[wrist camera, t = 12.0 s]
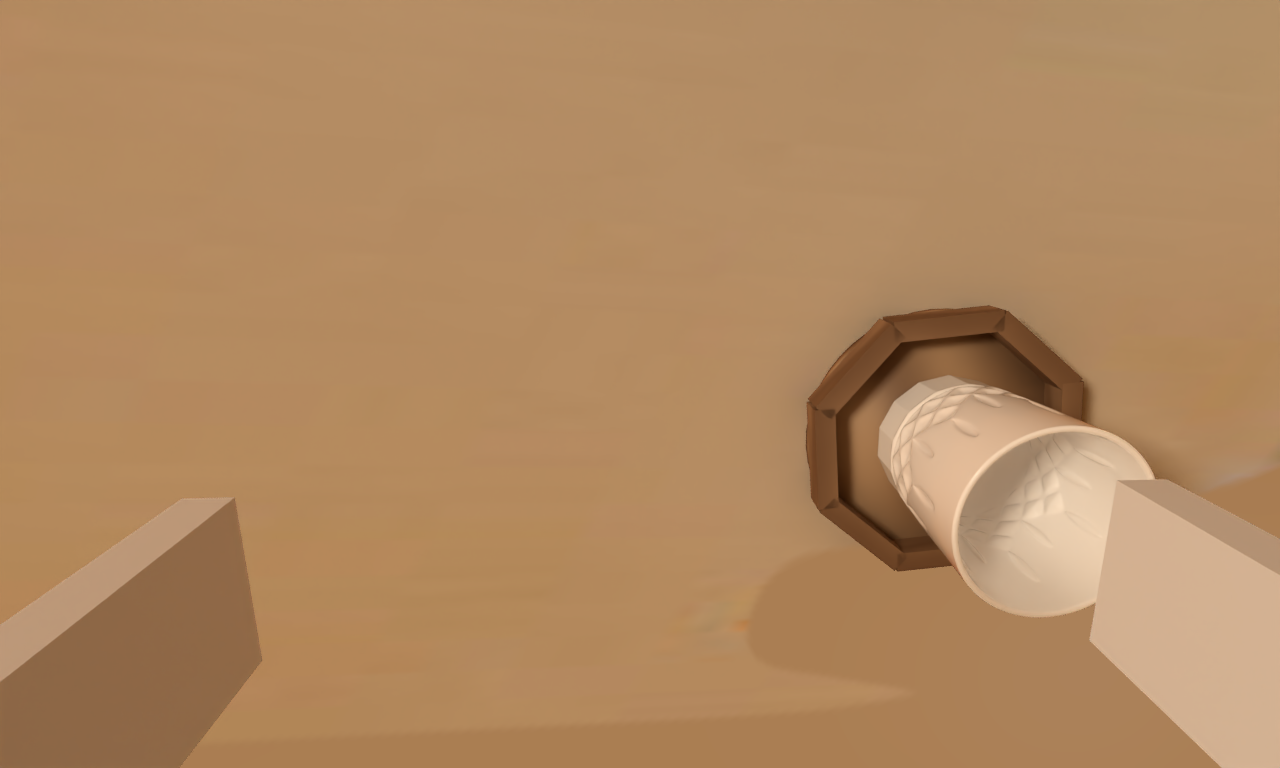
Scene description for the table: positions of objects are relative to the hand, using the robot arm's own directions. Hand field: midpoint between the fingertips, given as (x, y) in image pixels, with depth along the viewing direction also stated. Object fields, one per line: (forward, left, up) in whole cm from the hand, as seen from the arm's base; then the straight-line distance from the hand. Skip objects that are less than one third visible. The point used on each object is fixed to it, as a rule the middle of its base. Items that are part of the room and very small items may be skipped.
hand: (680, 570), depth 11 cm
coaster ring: (-5, +16, -25) cm, 30 cm away
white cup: (-5, +16, -25) cm, 30 cm away
